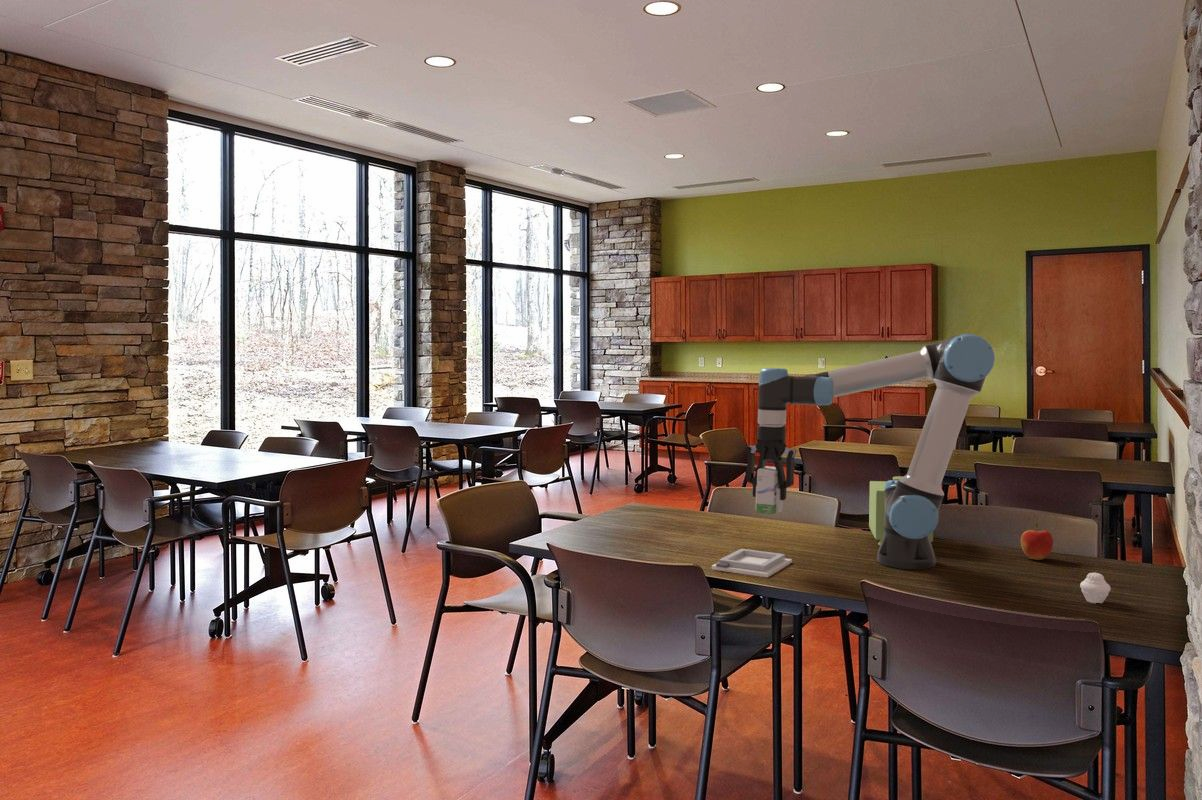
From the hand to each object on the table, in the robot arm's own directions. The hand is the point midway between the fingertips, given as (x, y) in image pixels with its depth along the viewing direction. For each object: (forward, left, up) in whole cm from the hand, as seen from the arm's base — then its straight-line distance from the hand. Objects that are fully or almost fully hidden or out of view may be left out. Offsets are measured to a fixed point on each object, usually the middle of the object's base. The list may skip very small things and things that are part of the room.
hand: (768, 510), depth 231 cm
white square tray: (+4, +1, -16) cm, 16 cm away
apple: (-61, -47, -16) cm, 78 cm away
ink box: (0, 0, 0) cm, 0 cm away
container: (-23, -50, -16) cm, 57 cm away
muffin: (-77, -10, -16) cm, 79 cm away
